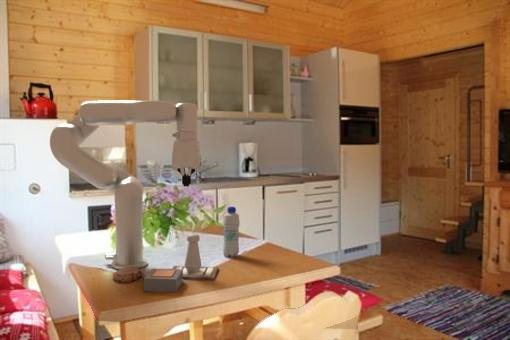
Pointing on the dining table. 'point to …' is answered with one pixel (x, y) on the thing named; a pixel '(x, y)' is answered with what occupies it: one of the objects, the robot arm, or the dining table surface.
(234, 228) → the bottle
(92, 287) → the dining table surface
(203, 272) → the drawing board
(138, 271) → the cookie
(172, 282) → the button housing
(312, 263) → the dining table surface
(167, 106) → the robot arm
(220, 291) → the dining table surface
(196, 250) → the salt shaker
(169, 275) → the button
